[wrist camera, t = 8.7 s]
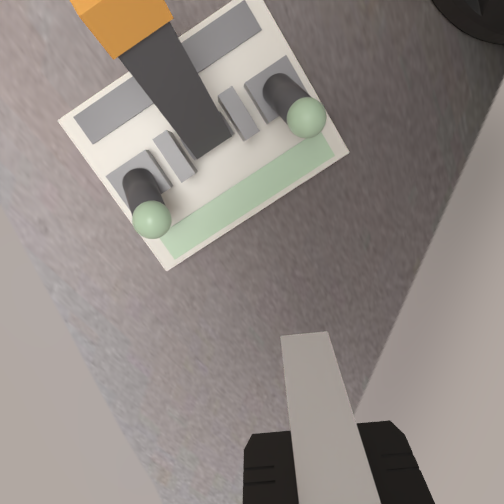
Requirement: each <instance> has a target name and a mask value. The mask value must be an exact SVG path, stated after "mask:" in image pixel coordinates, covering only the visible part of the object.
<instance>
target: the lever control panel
mask: <svg viewBox="0 0 504 504" xmlns="http://www.w3.org/2000/svg"><path fill="white" fill-rule="evenodd" d="M178 38H179V40H180V42H181V44H182V45H183V47H184V49H185V51H186V53H187V54H188V56H189V58H190V60H191V62H192V64H193V65H194V67H195V69H196V71H197V73H198V75H199V76H200V78H201V80H202V82H203V84H204V86H205V87H206V89H207V91H208V93H209V95H210V96H211V98H212V100H213V102H214V104H215V106H216V107H217V109H218V111H219V112H221V113H222V114H223V116H224V117H225V119H226V120H227V122H228V124H229V125H230V127H231V129H232V130H233V132H234V135H232V137H230V138H229V139H227V140H226V141H224V142H223V143H221V144H220V145H218V146H217V147H215V148H214V149H212V150H211V151H209V152H208V153H206V154H205V155H203V156H202V157H200V158H199V159H196V160H194V159H193V158H192V157H191V155H190V154H189V153H188V151H187V150H186V148H185V147H184V145H183V143H182V142H181V140H180V137H179V135H178V134H177V133H176V131H175V130H174V129H173V128H172V126H171V125H170V124H169V122H168V121H167V120H166V118H165V117H164V116H163V115H162V113H161V112H160V111H159V109H158V108H157V107H156V106H155V104H154V103H153V102H152V100H151V99H150V98H149V96H148V95H147V94H146V93H145V91H144V90H143V89H142V87H141V86H140V85H139V84H138V82H137V81H136V80H135V78H134V77H133V76H132V74H131V73H130V72H127V73H126V74H125V75H123V76H122V77H120V78H119V79H117V80H116V81H114V82H113V83H111V84H110V85H108V86H107V87H106V88H104V89H103V90H101V91H100V92H98V93H97V94H95V95H94V96H92V97H91V98H90V99H88V100H87V101H85V102H84V103H82V104H81V105H79V106H78V107H76V108H75V109H73V110H72V111H71V112H69V113H68V114H66V115H65V116H63V117H62V118H60V119H59V120H57V121H58V122H59V123H60V125H61V126H62V128H63V129H64V130H65V132H66V133H67V135H68V136H69V137H70V139H71V140H72V141H73V143H74V144H75V146H76V147H77V148H78V150H79V151H80V153H81V154H82V155H83V157H84V158H85V159H86V161H87V162H88V164H89V165H90V166H91V168H92V169H93V171H94V172H95V173H96V175H97V176H98V177H99V179H100V180H101V182H102V183H103V184H104V186H105V187H106V189H107V190H108V191H109V193H110V194H111V195H112V197H113V198H114V200H115V201H116V202H117V204H118V205H119V207H120V208H121V209H122V211H123V212H124V213H125V215H126V216H127V218H128V219H129V220H130V222H131V223H132V224H133V227H134V229H135V230H136V232H137V233H138V234H139V235H140V236H141V237H142V238H143V240H144V241H145V242H146V244H147V245H148V247H149V248H150V249H151V251H152V252H153V254H154V255H155V256H156V258H157V259H158V260H159V262H160V263H161V265H162V266H163V267H164V269H165V270H166V271H168V270H169V269H171V268H173V267H174V266H176V265H177V264H179V263H180V262H182V261H183V260H185V259H186V258H188V257H190V256H191V255H193V254H194V253H196V252H197V251H199V250H200V249H202V248H203V247H205V246H206V245H208V244H210V243H211V242H213V241H214V240H216V239H217V238H219V237H220V236H222V235H223V234H225V233H227V232H228V231H230V230H231V229H233V228H234V227H236V226H237V225H239V224H240V223H242V222H243V221H245V220H247V219H248V218H250V217H251V216H253V215H254V214H256V213H257V212H259V211H260V210H262V209H263V208H265V207H267V206H268V205H270V204H271V203H273V202H274V201H276V200H277V199H279V198H280V197H282V196H284V195H285V194H287V193H288V192H290V191H291V190H293V189H294V188H296V187H297V186H299V185H300V184H302V183H304V182H305V181H307V180H308V179H310V178H311V177H313V176H314V175H316V174H317V173H319V172H321V171H322V170H324V169H325V168H327V167H328V166H330V165H331V164H333V163H334V162H336V161H337V160H339V159H341V158H342V157H344V156H345V155H347V154H348V153H350V152H349V150H348V149H347V147H346V145H345V143H344V142H343V140H342V138H341V136H340V135H339V133H338V131H337V129H336V128H335V126H334V124H333V122H332V120H331V119H330V117H329V115H328V113H327V112H326V110H325V108H324V106H323V105H322V103H321V101H320V99H319V98H318V96H317V94H316V92H315V91H314V89H313V87H312V85H311V84H310V82H309V80H308V78H307V77H306V75H305V73H304V71H303V70H302V68H301V66H300V64H299V63H298V61H297V59H296V57H295V56H294V54H293V52H292V50H291V48H290V47H289V45H288V43H287V41H286V40H285V38H284V36H283V34H282V33H281V31H280V29H279V27H278V26H277V24H276V22H275V20H274V19H273V17H272V15H271V13H270V12H269V10H268V8H267V6H266V5H265V3H264V1H263V0H232V1H231V2H230V3H228V4H227V5H225V6H224V7H222V8H221V9H219V10H218V11H216V12H215V13H214V14H212V15H211V16H209V17H208V18H206V19H205V20H203V21H202V22H200V23H199V24H197V25H196V26H195V27H193V28H192V29H190V30H189V31H187V32H186V33H184V34H183V35H181V36H180V37H178Z"/></svg>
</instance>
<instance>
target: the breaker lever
mask: <svg viewBox="0 0 504 504" xmlns="http://www.w3.org/2000/svg"><path fill="white" fill-rule="evenodd" d="M70 2H71V3H72V5H73V7H74V8H75V10H76V12H77V14H78V15H79V17H80V18H81V19H82V21H83V22H84V23H85V24H86V26H87V27H88V28H89V30H90V31H91V32H92V33H93V35H94V36H95V37H96V38H97V40H98V41H99V42H100V43H101V45H102V46H103V47H104V48H105V50H106V51H107V52H108V53H109V55H110V56H111V57H112V58H113V60H114V59H115V58H117V57H118V58H119V59H120V60H121V62H122V63H123V64H124V65H125V67H126V68H127V69H128V71H129V72H130V73H131V74H132V76H133V77H134V78H135V80H136V81H137V82H138V84H139V85H140V86H141V87H142V89H143V90H144V91H145V93H146V94H147V95H148V96H149V98H150V99H151V100H152V102H153V103H154V104H155V106H156V107H157V108H158V109H159V111H160V112H161V113H162V115H163V116H164V117H165V118H166V120H167V121H168V122H169V124H170V125H171V126H172V128H173V129H174V130H175V131H176V133H177V134H178V135H179V137H180V140H181V142H182V143H183V145H184V147H185V148H186V150H187V151H188V153H189V154H190V155H191V157H192V158H193V159H194V160H196V159H199V158H200V157H202V156H203V155H205V154H206V153H208V152H209V151H211V150H212V149H214V148H215V147H217V146H218V145H220V144H221V143H223V142H224V141H226V140H227V139H229V138H230V137H232V135H234V132H233V130H232V129H231V127H230V125H229V124H228V122H227V120H226V119H225V117H224V116H223V114H222V113H221V112H219V111H218V109H217V107H216V106H215V104H214V102H213V100H212V98H211V96H210V95H209V93H208V91H207V89H206V87H205V86H204V84H203V82H202V80H201V78H200V76H199V75H198V73H197V71H196V69H195V67H194V65H193V64H192V62H191V60H190V58H189V56H188V54H187V53H186V51H185V49H184V47H183V45H182V44H181V42H180V40H179V38H178V36H177V34H176V33H175V31H174V29H173V27H172V25H171V23H170V22H169V21H170V20H172V19H173V16H172V14H171V12H170V10H169V9H168V7H167V5H166V3H165V1H164V0H70Z"/></svg>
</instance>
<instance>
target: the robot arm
mask: <svg viewBox="0 0 504 504" xmlns="http://www.w3.org/2000/svg"><path fill="white" fill-rule="evenodd" d="M433 1H434V3H435V4H436V6H437V7H438V9H439V10H440V11H441V12H442V13H443V14H444V16H445V17H446V18H447V19H448V20H449V21H451V22H452V23H453V24H454V25H455V26H457V27H458V28H459V29H461V30H462V31H464V32H466V33H467V34H469V35H471V36H473V37H475V38H478V39H481V40H484V41H487V42H491V43H497V44H504V0H433ZM280 339H281V348H282V358H283V368H284V378H285V388H286V397H287V407H288V416H289V425H290V431H282V432H271V433H259V434H252V436H251V438H250V440H249V441H248V443H247V445H246V447H245V449H244V472H243V504H435V502H434V500H433V498H432V496H431V493H430V491H429V489H428V487H427V484H426V482H425V480H424V478H423V475H422V473H421V471H420V470H419V466H418V464H417V461H416V459H415V457H414V456H413V453H412V450H411V448H410V446H409V443H408V441H407V439H406V437H405V435H404V434H403V433H402V432H401V431H400V430H399V429H398V428H397V427H396V426H395V425H394V424H393V423H392V422H391V421H380V422H368V423H357V424H356V421H355V418H354V415H353V411H352V408H351V405H350V402H349V398H348V395H347V392H346V389H345V386H344V382H343V379H342V376H341V373H340V369H339V366H338V363H337V360H336V356H335V353H334V350H333V347H332V344H331V340H330V337H329V334H328V331H325V332H315V333H304V334H294V335H284V336H280Z"/></svg>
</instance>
